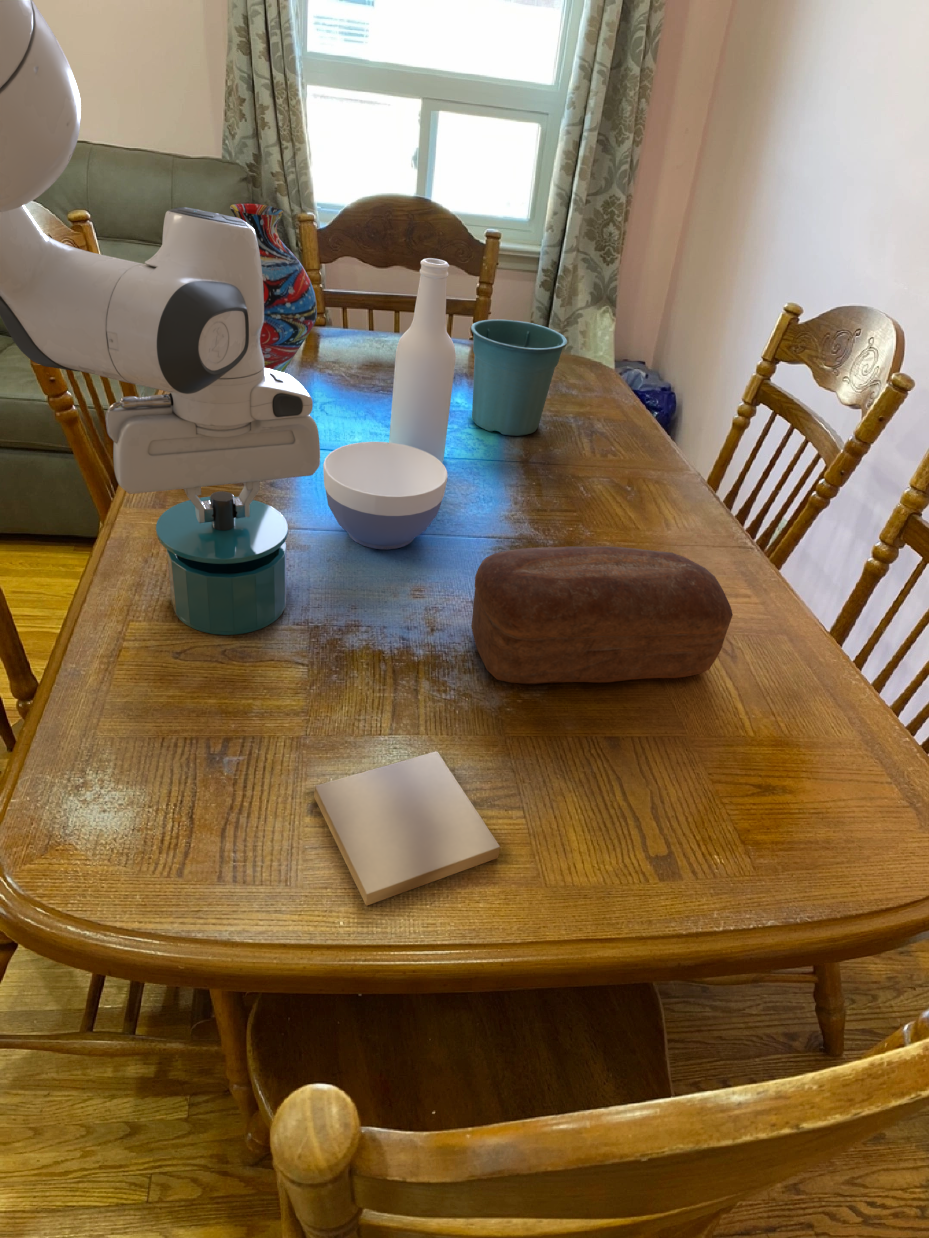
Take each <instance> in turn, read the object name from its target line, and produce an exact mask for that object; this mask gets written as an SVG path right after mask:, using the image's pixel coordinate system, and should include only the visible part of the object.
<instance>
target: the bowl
mask: <svg viewBox="0 0 929 1238" xmlns="http://www.w3.org/2000/svg"><path fill="white" fill-rule="evenodd" d="M322 466H323V467H322V469H323V485H324V489H325V496H326V500H327V505H328V507H329V509H330V511H331V513H332V515H333V517H334V519H335V520H336V522H337V524H338V525H339V526H340V527H341V528H342V529H343V530H344V531H346V533H347V535H348V536H349V537H350V539H351V540H353V541H354V542H355V543H357V544H360V545H361V546H364V547H366V548H369V549H374V550H375V549H376V550H397V549H400V548H403V547H406V546H408V545H409V544H411V543H412V542H413V541H414V539H415V538H416V537H417V538H418V537H419V536H420V535H422V534H423V533H424V532H426V530H427V529H428V528H429V527H430V525H431V524H432V522H433V521H434V520H435V518H436V517H437V515H438V513H439V511H440V508H441V505H442V502H443V499H444V497H445V492H446V488H447V482H448V470H447V468H446V466H445V465H444V463H443V462H441V461H440V460H438V459H437V458H436V457H434V456H433V455H431V454H429V453H427V452H425V451H422V450H420V449H417V448H414V447H410V446H407V445H402V444H397V443H389V441H362V442H355V443H349V444H346V445H342V446H340V447H337V448H336V449H334V450H332V451H331V452H329V453H328V455H326V457H325V458H324V461H323V464H322Z"/></svg>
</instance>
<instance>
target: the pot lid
mask: <svg viewBox="0 0 929 1238" xmlns="http://www.w3.org/2000/svg"><path fill="white" fill-rule="evenodd" d="M235 497H236V496H234V494H233V493H232V492H229V491H223V490H221V491H220V490H218V491H215V492H212V493H211V494H210V495H209V496H202V497H199V499H200V500H201V501H210V503H211V505H212V507H213V513H214V514H213V517H214V521H213V522H206V523H199V522H198V520H197V517H196V510H195V505H194V504H193V503H192V502H191V500H190V499H188V500H185V501H181V502H180V503H177V504H175V505H173V506H171V507H169V508H168V509H166V510H165V511H164V512H163V513H162V514H161V515H160V516H159V518H158V519H157V521H156V524H155V534H156V538H157V540H158V541H159V543H160V544H161V546H163V547H164V548H165V550H166V551H167V550H169V551H170V552H172V553H174V554H176V555H178V556H180V557H183V558H186V559H189V560H193V561H198V562H204V563H213V564H230V563H241V562H246V561H251V560H255V559H258V558H261V557H264V556H266V555H268V554H271V553H272V552H274V551H276V550H277V549H278V548H279V547H281V546H282V545H283V543H284V542H286V541H287V539H288V535H289V525H288V521H287V519H286V517H285V516H284V515H283V514H282V513H281V512H280V511H279V510H278V509H276V508H275V507H273V506H271V505H269V504H267V503H264V502H262V501H259V500H255V499H253V501H252V502H251V504H249V507H250V516H249V517H246V518H238V519H235V512H234V498H235Z"/></svg>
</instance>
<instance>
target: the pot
mask: <svg viewBox="0 0 929 1238" xmlns="http://www.w3.org/2000/svg"><path fill="white" fill-rule="evenodd" d="M287 546H288V545H287V542H286V541H285V542H284V543H283V545H282V546H281V547H279V548H278V549H277V550H276V551H274V552H272V553H271V554H268V555H266V556H264V557H261V558H258V559H255V560H251V561H246V562H241V563H230V564H213V563H204V562H198V561H193V560H189V559H186V558H183V557H180V556H178V555H176V554H174V553H172V552H170V551H169V550H167V549H166V559H167V560H166V561H167V568H168V578H169V589H170V598H171V604H172V608H173V612H174V614H175V615H176V617H177V618H178V619H179V620H180V621H181V622H182V623H183V624H185V625H186V626H187V627H189V628H191V629H194V630H196V631H199V632H202V633H206V634H212V635H219V636H233V635H234V636H235V635H242V634H249V633H252V632H256V631H259V630H261V629H264V628H266V627H268V626H269V625H272V624H273V623H274V622H276V621H277V620H278V619H279V618H280V617H281V615H282V614H283V613H284V611H285V609H286V605H287V596H288V595H287V594H288V593H287V591H288V590H287V589H288V588H287V587H288V586H287V585H288V584H287V583H288V581H287V579H288V578H287V575H288V574H287V567H288V566H287V565H288V562H287V561H288V560H287V558H288V557H287V553H288V552H287V549H288V548H287Z"/></svg>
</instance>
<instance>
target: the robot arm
mask: <svg viewBox="0 0 929 1238" xmlns="http://www.w3.org/2000/svg"><path fill="white" fill-rule="evenodd" d="M81 104H82V103H81V96H80V91H79V88H78V84H77V82H76V79H75V76H74V73H73V70H72V68H71V66H70V62H69V61H68V59H67V56H66V54H65V52H64V50H63V48H62V46H61V44H60V42H59V40H58V39H57V37H56V36H55V34H54V32H53V30H52V29H51V27H50V25H49V24H48V22H47V20H46V19H45V17H44V16H43V14H42V13H41V10H39V8H38V7H37V5H36V3H35V2H34V0H0V319H1V320H2V322H3V324H4V326H5V328H6V330H7V332H8V334H9V335H10V337H11V339H12V340H13V343H14V344H15V345H16V346H17V348H18V349H19V350H20V351H21V353H23V354H24V356H25V357H26V358H27V359H29V360H31V361H32V362H34V363H35V364H38V365H40V366H42V367H45V368H46V367H47V368H51V369H60V370H67V371H72V372H77V373H78V372H83V373H87V374H91V375H94V376H95V375H96V376H98V377H99V376H100V377H103V378H107V379H111V380H116V381H120V382H122V383H123V382H124V383H128V384H132V385H138V386H142V387H146V388H150V389H154V390H159V391H163V392H168V394H167V393H165V394H151V395H147V396H146V395H145V396H134V395H129V396H123V397H120V398H119V399H120V400H118V401H116V402H114V403H112V404H111V405H110V406H109V407H108V408H107V410H106V412H105V425H106V426H105V427H106V433H107V435H108V437H109V439H110V440H111V441H112V442H113V449H112V450H113V452H112V453H113V454H112V455H113V470H114V475H115V479H116V482H117V484H118V485H119V487H120V488H121V489H123V491H125V492H126V493H127V494H130V495H134V494H144V493H145V494H147V493H154V492H165V491H173V490H183V491H184V493H185V495H186V497H187V498H188V500H191V502H192V503H193V504H194V505H195V510H196V517H197V520H198V522H199V523H206V522H213V521H214V517H213V514H214V513H213V507H212V505H211V503H210V501H201V500H200V499H199V498H200V497H199V496H201V495H202V488H203V487H212V486H224V485H230V484H232V485H234V484H242V485H243V487H242V490H240V493H239V494H238V496H234V497H235V498H234V512H235V519H238V518H246V517H249V516H250V507H249V504H251V502H252V501H253V500H255V498H256V496H257V495H258V493H259V491H260V490H261V481H272V480H281V479H282V480H283V479H290V478H299V477H300V478H301V477H310V476H313V475H314V474H315V473H316V472H317V471H318V469H319V468H320V465H321V445H320V434H319V429H318V424H317V423H316V421H315V419H314V417H312V416H311V414H312V411H313V407H314V405H313V404H314V403H313V402H314V401H313V398H312V396H311V394H310V392H308V390H307V389H306V387H305V386H303V385H302V384H301V383H300V381H299V380H297V379H296V378H295V377H294V376H292V375H291V374H289V373H285V372H284V373H282V372H279V371H275V370H271V369H268V368H265V367H264V357H263V354H262V350H261V346H260V334H261V329H262V326H263V322H264V293H263V277H262V267H261V259H260V252H259V247H258V242H257V238H256V234H255V231H254V229H253V228H252V227H251V226H250V225H249V224H247V222H245V221H244V220H242V219H239V218H237V217H235V216H231V215H227V214H223V213H217V212H212V211H206V210H201V209H197V208H192V207H183V206H182V207H181V206H179V207H174V208H171V209H169V210H167V211H166V212H165V215H164V218H163V229H162V239H161V240H162V242H161V243H162V244H161V246H159V249H158V250H157V251H156V253H155V254H154V255H153V256H151V257H150V258H148V259H147V260H145V261H144V263H142V262H137V261H133V260H127V259H123V258H118V257H115V256H109V255H105V254H100V253H95V252H92V251H88V250H84V249H81V248H79V247H78V248H77V247H74V246H72V245H69V244H66V243H63V242H61V241H58V240H56V239H54V238H52V237H51V236H49V235H47V234H46V233H45V232H44V231H43V230H42V229H41V228H40V226H39V225H38V223H37V222H36V220H35V219H34V217H33V216H32V214H31V212H30V211H29V210H28V208H27V207H26V205H27V204H29V203H31V202H33V201H34V200H36V199H37V198H39V197H40V196H42V195H43V194H45V192H46V191H48V190H49V188H51V187H52V186H53V185H54V184H55V182H56V181H57V180H58V179H59V178H60V177H61V175H62V174H63V173H64V171H65V170H66V169H67V166H68V165H69V163H70V161H71V159H72V157H73V155H74V152H75V151H76V147H77V144H78V139H79V136H80V132H81V131H80V130H81V120H82V119H81V118H82V116H81V115H82V113H81V111H82V108H81V107H82V105H81Z"/></svg>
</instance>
